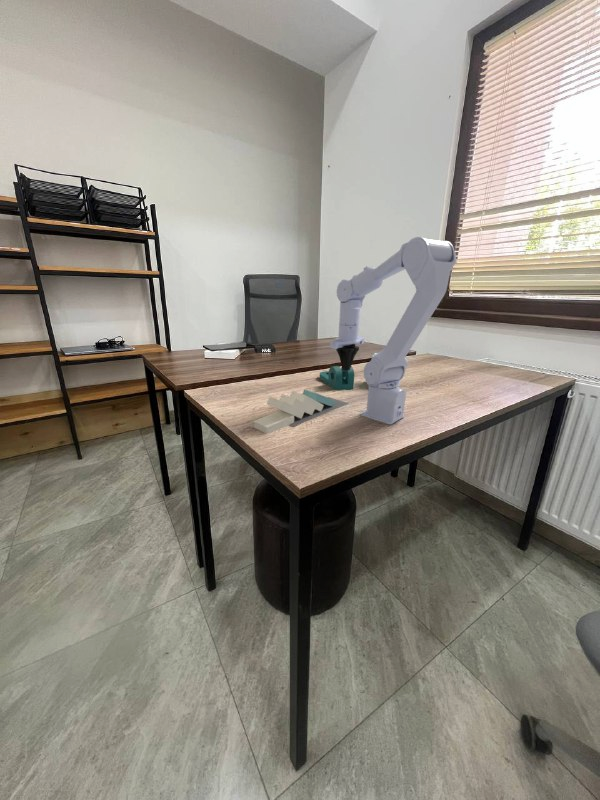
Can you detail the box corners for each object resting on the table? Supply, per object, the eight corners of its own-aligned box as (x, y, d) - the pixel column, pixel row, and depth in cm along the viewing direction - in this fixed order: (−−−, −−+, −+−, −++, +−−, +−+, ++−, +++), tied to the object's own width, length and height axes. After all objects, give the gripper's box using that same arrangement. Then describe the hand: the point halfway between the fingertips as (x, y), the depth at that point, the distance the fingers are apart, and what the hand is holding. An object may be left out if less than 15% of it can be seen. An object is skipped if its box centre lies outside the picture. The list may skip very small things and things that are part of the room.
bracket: (353, 389, 107) (355, 367, 104) (335, 391, 105) (336, 369, 102) (332, 376, 123) (333, 356, 120) (317, 377, 121) (317, 357, 118)
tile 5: (294, 415, 78) (267, 427, 72) (294, 422, 79) (267, 434, 73) (280, 410, 81) (253, 421, 75) (280, 417, 82) (254, 428, 76)
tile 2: (323, 405, 86) (305, 395, 79) (321, 411, 86) (302, 402, 79) (310, 400, 89) (292, 390, 83) (307, 407, 89) (289, 397, 82)
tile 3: (314, 408, 84) (295, 398, 77) (312, 415, 83) (292, 406, 77) (301, 403, 87) (281, 394, 80) (298, 410, 87) (279, 401, 80)
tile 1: (335, 400, 90) (317, 393, 83) (332, 406, 90) (315, 400, 83) (322, 396, 93) (304, 389, 86) (319, 402, 93) (301, 396, 86)
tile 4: (304, 411, 81) (283, 401, 74) (301, 418, 80) (280, 409, 74) (291, 406, 84) (269, 396, 77) (288, 413, 84) (266, 404, 77)
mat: (348, 404, 93) (348, 403, 93) (292, 428, 76) (292, 427, 76) (328, 397, 98) (328, 396, 98) (271, 418, 82) (271, 417, 81)
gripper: (351, 321, 97) (348, 363, 102) (322, 324, 87) (320, 371, 92) (371, 323, 92) (367, 367, 97) (342, 327, 83) (339, 375, 87)
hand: (345, 369), depth 94 cm, fingers closed
